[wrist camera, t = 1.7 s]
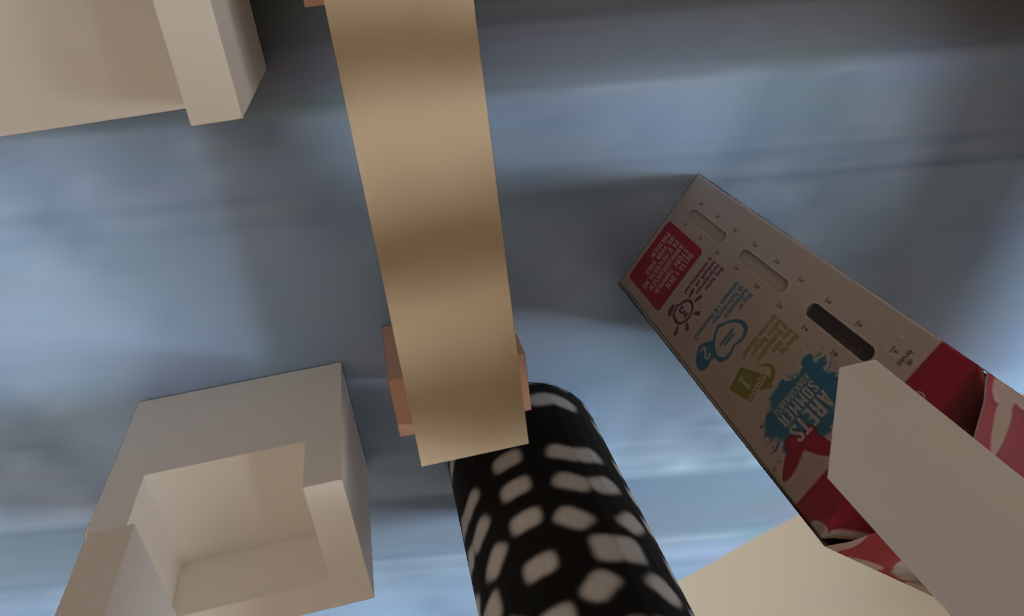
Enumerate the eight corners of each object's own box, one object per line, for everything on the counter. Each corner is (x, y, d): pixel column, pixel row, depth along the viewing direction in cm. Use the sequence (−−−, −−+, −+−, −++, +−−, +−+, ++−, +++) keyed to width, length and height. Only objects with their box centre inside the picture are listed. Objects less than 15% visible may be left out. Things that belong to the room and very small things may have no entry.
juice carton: (711, 337, 41) (1041, 700, 22) (618, 283, 39) (899, 642, 19) (791, 237, 39) (1225, 536, 20) (698, 173, 37) (1097, 447, 17)
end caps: (-60, -83, 27) (-227, -85, 19) (220, -115, 28) (174, -130, 20) (182, 506, 39) (142, 652, 31) (367, 466, 40) (374, 597, 32)
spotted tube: (554, 355, 40) (726, 695, 22) (618, 459, 44) (807, 817, 26) (417, 434, 40) (480, 829, 23) (493, 530, 44) (596, 928, 27)
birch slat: (310, -79, 25) (306, -79, 22) (448, -96, 25) (461, -99, 22) (415, 424, 34) (421, 467, 31) (513, 403, 34) (528, 443, 32)
